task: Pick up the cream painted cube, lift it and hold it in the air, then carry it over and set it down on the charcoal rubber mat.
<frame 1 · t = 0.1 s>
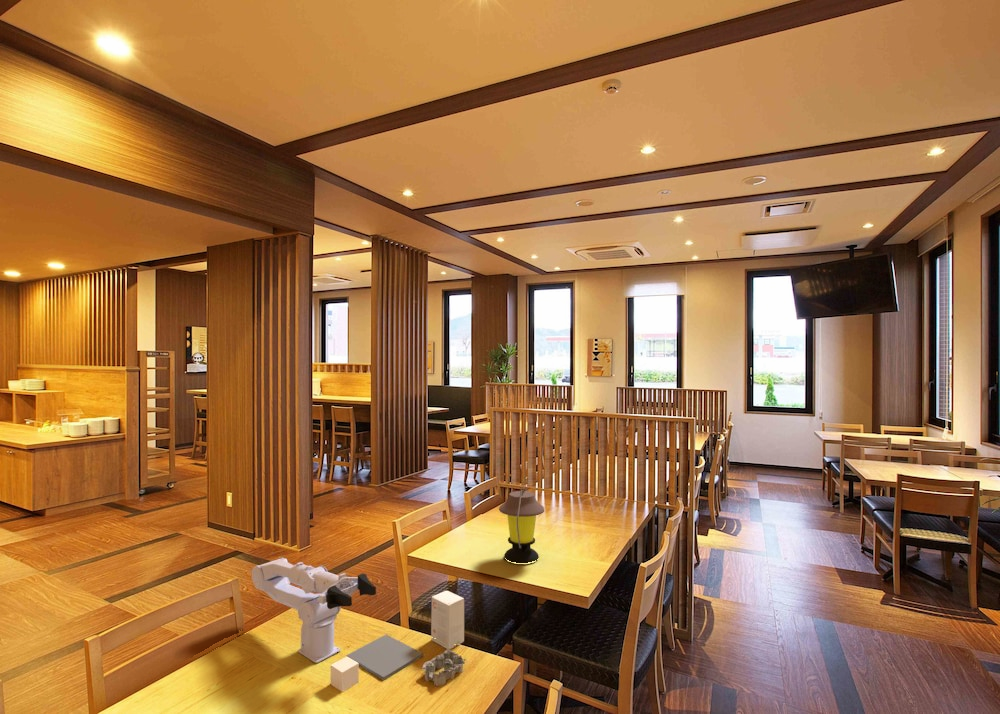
hand: (363, 596, 134), 22 cm above the table, tool horizontal, fingers open, 7 cm apart
small box: (447, 641, 153), on the table
cube: (344, 683, 132), on the table
egg carton: (443, 674, 137), on the table
lantern: (521, 558, 217), on the table
mat: (384, 657, 144), on the table
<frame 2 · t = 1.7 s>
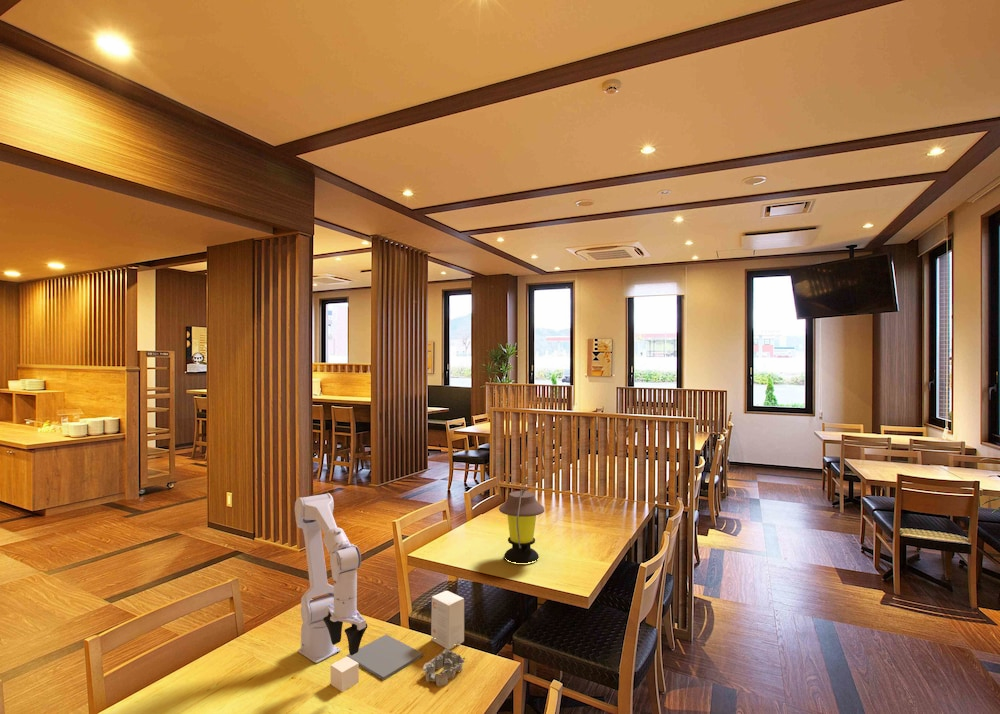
hand: (344, 648, 132), 9 cm above the table, tool pointing down, fingers open, 7 cm apart
nothing on the table moved.
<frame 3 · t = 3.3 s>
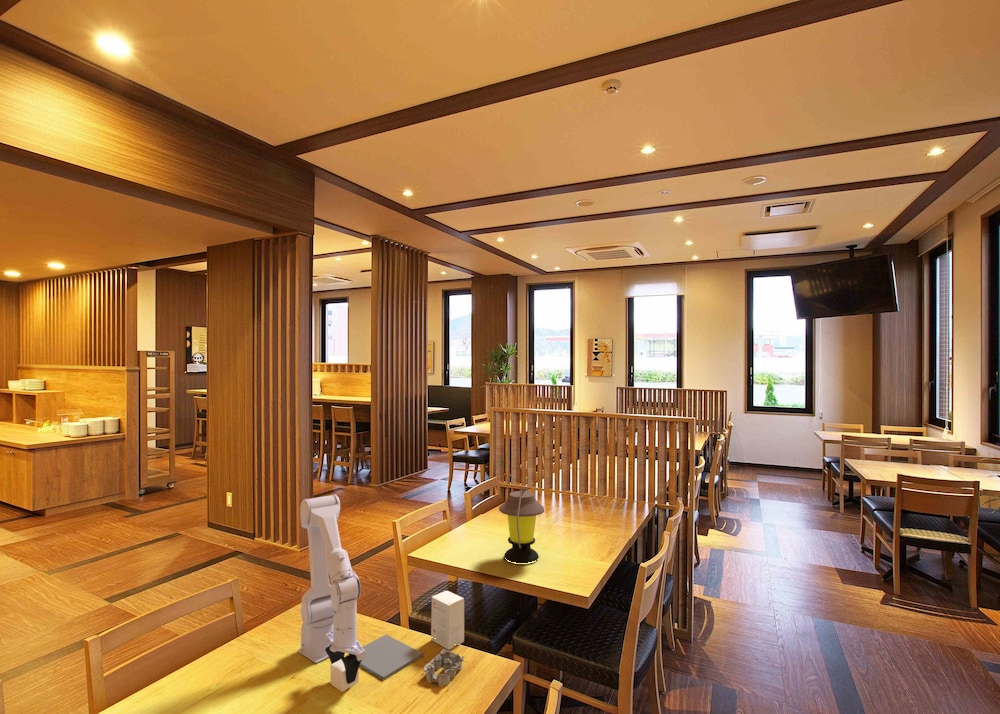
hand: (344, 677, 132), 1 cm above the table, tool pointing down, fingers closed on cube, 5 cm apart
cube: (344, 683, 132), on the table, touching gripper
everything else where it was.
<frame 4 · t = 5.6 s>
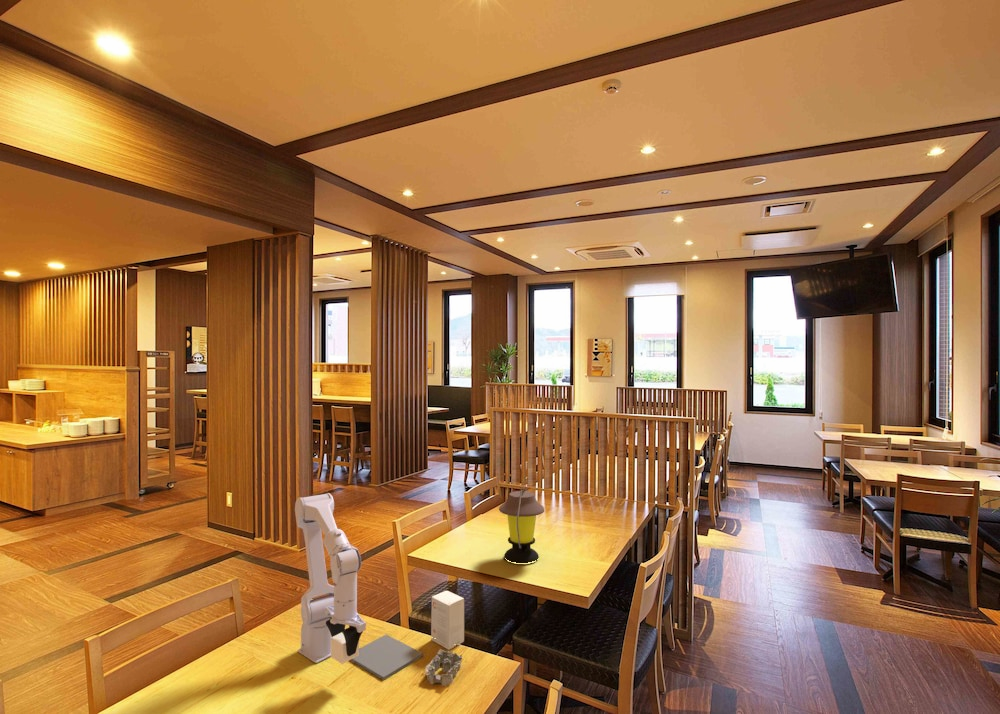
hand: (344, 650, 132), 8 cm above the table, tool pointing down, fingers closed on cube, 5 cm apart
cube: (344, 656, 132), point 7 cm above the table, touching gripper
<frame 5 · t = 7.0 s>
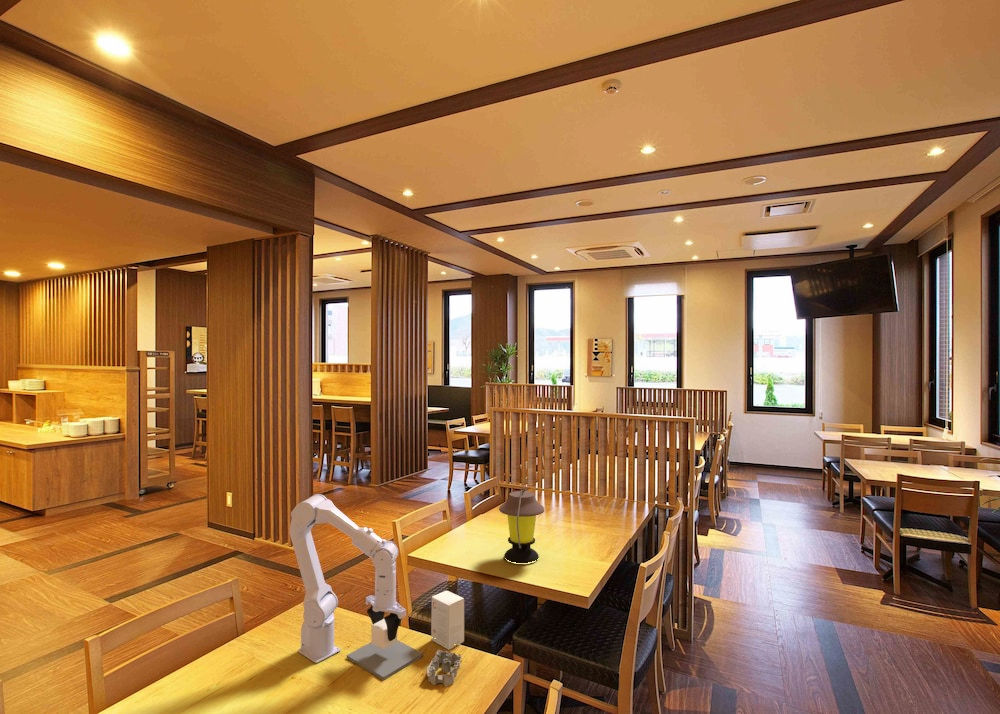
hand: (385, 636, 144), 6 cm above the table, tool pointing down, fingers closed on cube, 5 cm apart
cube: (384, 642, 144), point 4 cm above the table, touching gripper
when the fingers open (4 cm above the table, at t = 8.2 s): cube drops 2 cm, resting on mat.
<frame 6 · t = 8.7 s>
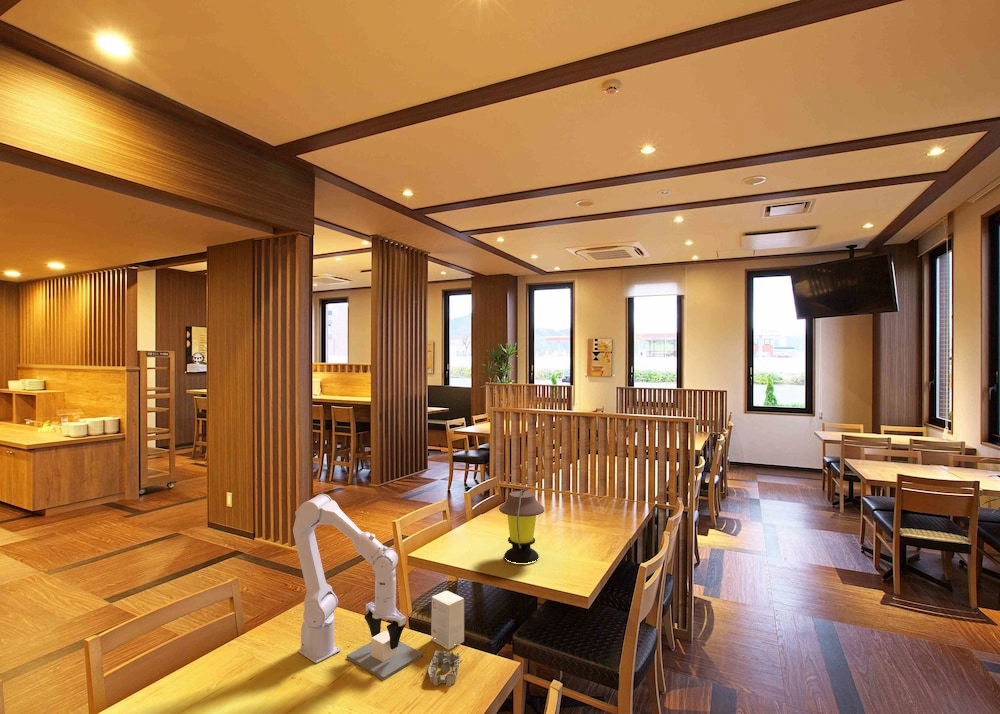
hand: (385, 643, 144), 4 cm above the table, tool pointing down, fingers open, 7 cm apart
cube: (384, 654, 144), point 1 cm above the table, touching mat
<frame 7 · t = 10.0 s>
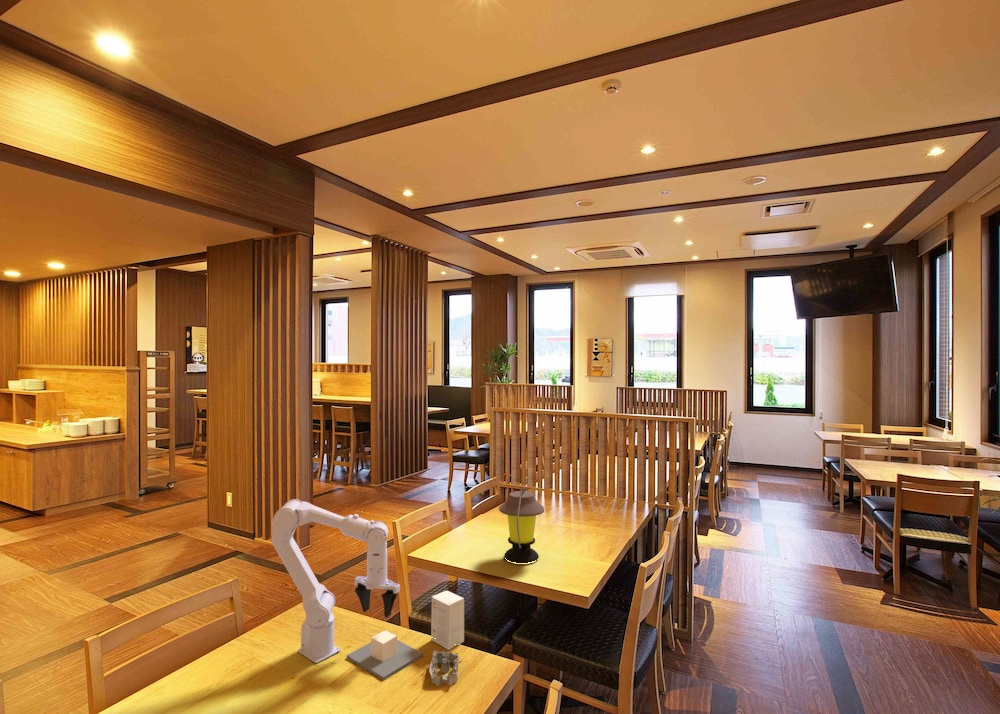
hand: (376, 613, 148), 10 cm above the table, tool pointing down, fingers open, 7 cm apart
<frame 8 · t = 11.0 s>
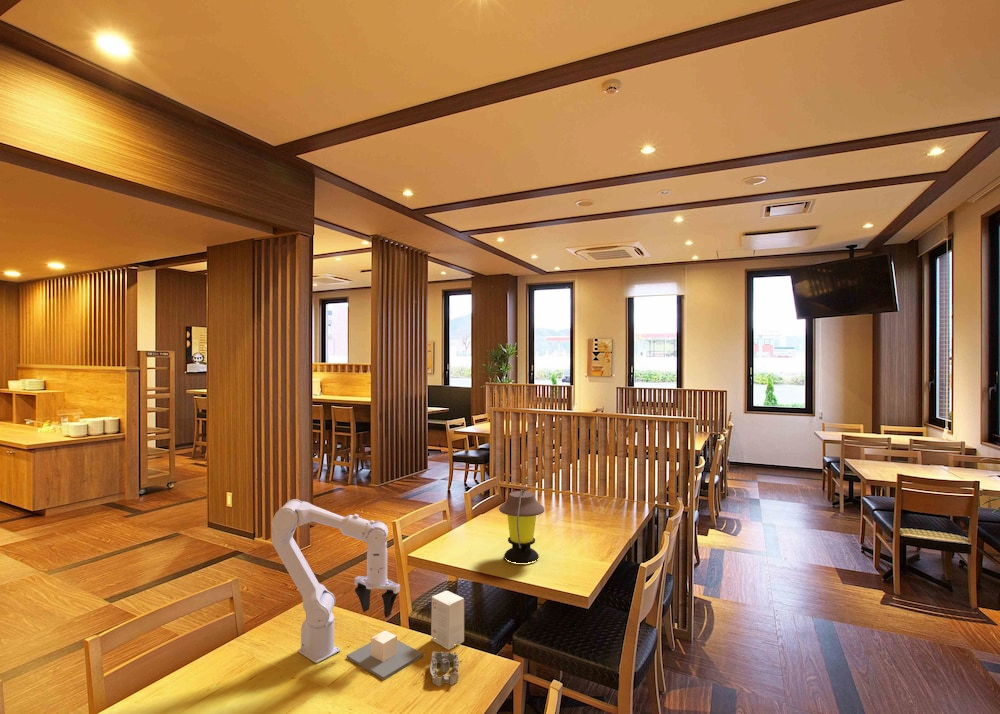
hand: (376, 613, 148), 10 cm above the table, tool pointing down, fingers open, 7 cm apart
at the end: cube inside the target area on the mat (0.3 cm from its centre), point 0.8 cm above the mat's base; cube tilted 0°; the gripper is holding nothing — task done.
